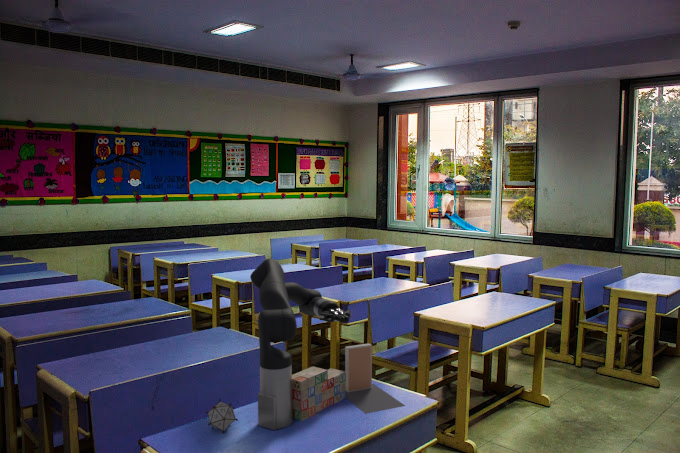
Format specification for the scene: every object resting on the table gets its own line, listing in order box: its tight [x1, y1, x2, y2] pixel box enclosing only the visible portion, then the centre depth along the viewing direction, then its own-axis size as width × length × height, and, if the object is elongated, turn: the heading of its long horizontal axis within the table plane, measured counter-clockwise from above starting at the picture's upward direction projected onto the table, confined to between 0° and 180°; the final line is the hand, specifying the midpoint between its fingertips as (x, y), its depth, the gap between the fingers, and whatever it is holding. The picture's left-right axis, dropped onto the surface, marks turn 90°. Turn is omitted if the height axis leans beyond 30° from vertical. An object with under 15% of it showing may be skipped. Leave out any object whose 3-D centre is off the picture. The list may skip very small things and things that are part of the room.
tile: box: [344, 343, 373, 392], centre depth 183 cm, size 2×9×15 cm, turn 115°
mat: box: [345, 383, 406, 415], centre depth 176 cm, size 21×14×1 cm, turn 25°
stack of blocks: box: [292, 366, 347, 422], centre depth 170 cm, size 21×6×12 cm, turn 141°
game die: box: [205, 398, 239, 435], centre depth 154 cm, size 9×8×10 cm
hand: (345, 320), depth 191 cm, fingers closed
